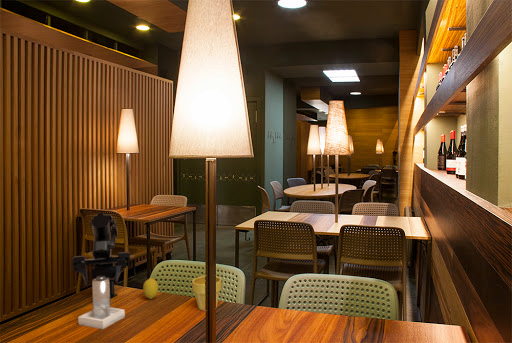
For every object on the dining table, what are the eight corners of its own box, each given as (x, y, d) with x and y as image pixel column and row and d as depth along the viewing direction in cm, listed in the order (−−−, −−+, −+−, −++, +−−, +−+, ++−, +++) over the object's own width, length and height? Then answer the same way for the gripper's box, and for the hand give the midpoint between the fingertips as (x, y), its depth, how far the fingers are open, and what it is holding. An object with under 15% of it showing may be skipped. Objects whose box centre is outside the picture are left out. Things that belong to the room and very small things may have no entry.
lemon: (140, 300, 150) (139, 279, 150) (150, 295, 155) (149, 275, 155) (151, 302, 148) (150, 281, 148) (161, 298, 153) (161, 277, 152)
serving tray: (101, 313, 139) (101, 305, 139) (124, 316, 135) (124, 309, 135) (78, 324, 130) (78, 316, 129) (103, 329, 126) (102, 321, 126)
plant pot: (186, 310, 140) (185, 282, 140) (203, 300, 150) (203, 274, 149) (211, 314, 136) (211, 286, 135) (227, 304, 145) (227, 277, 144)
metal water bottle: (104, 313, 136) (103, 273, 136) (113, 316, 133) (112, 276, 132) (90, 318, 132) (89, 277, 131) (99, 322, 129) (97, 280, 128)
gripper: (71, 233, 138) (68, 274, 128) (128, 229, 143) (130, 268, 133) (75, 251, 146) (72, 291, 136) (129, 246, 151) (130, 284, 141)
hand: (101, 283), depth 136 cm, fingers open, 9 cm apart
